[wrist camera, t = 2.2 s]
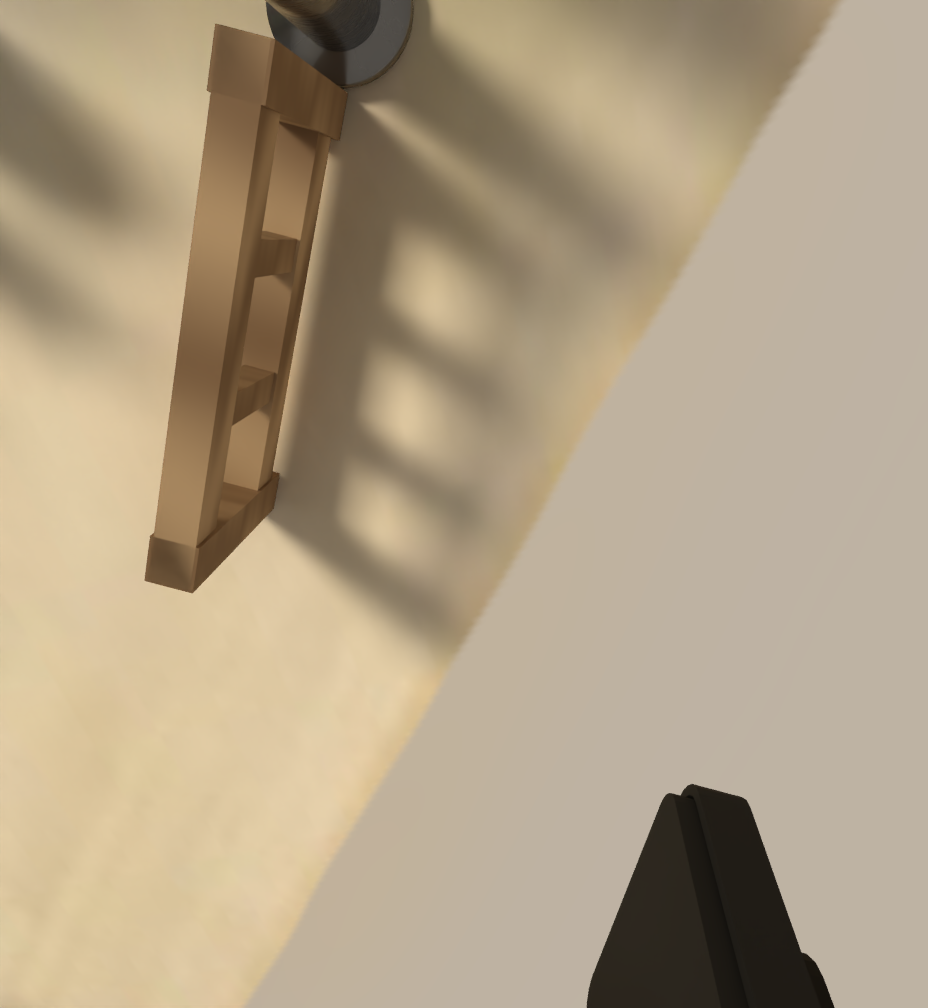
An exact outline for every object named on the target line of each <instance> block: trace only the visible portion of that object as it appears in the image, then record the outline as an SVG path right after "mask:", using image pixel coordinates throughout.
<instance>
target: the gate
mask: <svg viewBox="0 0 928 1008" xmlns="http://www.w3.org/2000/svg"><path fill="white" fill-rule="evenodd" d="M207 91H209V92H211V95H210V103H209V111H208V119H207V126H206V134H205V142H204V150H203V158H202V165H201V173H200V181H199V189H198V196H197V204H196V212H195V220H194V228H193V235H192V243H191V251H190V259H189V266H188V274H187V282H186V290H185V298H184V305H183V313H182V321H181V329H180V336H179V344H178V352H177V360H176V368H175V375H174V383H173V391H172V399H171V406H170V414H169V422H168V430H167V438H166V445H165V453H164V461H163V469H162V476H161V484H160V492H159V500H158V508H157V515H156V523H155V531H154V533H153V534H152V535H151V536H150V542H149V550H148V557H147V565H146V573H145V581H147V582H151V583H155V584H159V585H163V586H167V587H170V588H174V589H178V590H182V591H186V592H189V593H193V592H194V591H195V590H196V589H197V588H198V587H199V586H200V585H201V584H202V583H203V582H204V581H205V580H206V579H207V578H208V577H209V576H210V575H211V574H212V572H213V571H214V570H215V569H216V568H217V567H218V566H219V565H220V564H221V563H222V562H223V561H224V560H225V559H226V558H227V557H228V556H229V555H230V554H231V553H232V552H233V551H234V549H235V548H236V547H237V546H238V545H239V544H240V543H241V542H242V541H243V540H244V539H245V538H246V537H247V536H248V535H249V534H250V533H251V532H252V531H253V530H254V529H255V528H256V526H257V525H258V524H259V523H260V522H261V521H262V520H263V519H264V518H265V517H266V516H267V515H268V514H269V513H270V512H271V511H272V510H273V509H274V503H275V498H276V492H277V486H278V481H279V475H280V473H276V472H272V471H273V465H274V460H275V454H276V448H277V443H278V437H279V431H280V426H281V420H282V414H283V408H284V403H285V397H286V391H287V386H288V380H289V374H290V369H291V363H292V357H293V351H294V346H295V340H296V334H297V329H298V323H299V317H300V312H301V306H302V300H303V295H304V289H305V283H306V277H307V272H308V266H309V260H310V255H311V249H312V243H313V238H314V232H315V226H316V220H317V215H318V209H319V203H320V198H321V192H322V186H323V181H324V175H325V169H326V164H327V158H328V152H329V146H330V141H331V139H335V140H338V141H339V140H340V134H341V129H342V123H343V117H344V112H345V106H346V101H347V95H348V93H347V92H345V91H344V90H343V89H341V88H340V87H339V86H337V85H336V84H335V83H333V82H332V81H331V80H329V79H328V78H327V77H325V76H324V75H323V74H321V73H320V72H319V71H317V70H316V69H315V68H313V67H312V66H311V65H309V64H308V63H307V62H305V61H304V60H303V59H301V58H300V57H299V56H297V55H296V54H294V53H293V52H292V51H290V50H289V49H288V48H286V47H285V46H284V45H282V44H281V43H280V42H278V41H277V40H276V39H273V38H269V37H265V36H261V35H257V34H253V33H250V32H246V31H242V30H238V29H234V28H230V27H227V26H223V25H219V24H215V30H214V38H213V46H212V53H211V61H210V69H209V77H208V85H207Z"/></svg>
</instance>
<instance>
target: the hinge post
mask: <svg viewBox="0 0 928 1008" xmlns="http://www.w3.org/2000/svg"><path fill="white" fill-rule="evenodd" d="M265 1H266V7H267V15H268V20H269V24H270V27H271V30H272V33H273V36H274V38H275V39H276V40H277V41H278V42H280V43H281V44H282V45H284V46H285V47H286V48H288V49H289V50H290V51H292V52H293V53H294V54H296V55H297V56H299V57H300V58H301V59H303V60H304V61H305V62H307V63H308V64H309V65H311V66H312V67H313V68H315V69H316V70H317V71H319V72H320V73H321V74H323V75H324V76H325V77H327V78H328V79H329V80H331V81H332V82H333V83H335V84H336V85H337V86H339V87H340V88H349V87H357V86H361V85H364V84H367V83H370V82H372V81H373V80H375V79H377V78H379V77H380V76H381V75H383V74H384V73H386V72H387V71H388V70H389V69H390V68H391V67H392V66H393V65H394V63H395V62H396V61H397V59H398V58H399V57H400V55H401V53H402V51H403V50H404V48H405V45H406V43H407V41H408V38H409V35H410V31H411V27H412V21H413V0H265Z"/></svg>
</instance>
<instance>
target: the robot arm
mask: <svg viewBox="0 0 928 1008" xmlns="http://www.w3.org/2000/svg"><path fill="white" fill-rule="evenodd" d="M587 1008H834V1005H833V1002H832V1000H831V997H830V994H829V992H828V989H827V986H826V984H825V981H824V978H823V976H822V974H821V972H820V970H819V968H818V966H817V965H816V963H815V962H814V961H813V960H812V959H811V958H810V957H809V956H808V955H807V954H805V953H801V950H800V947H799V944H798V942H797V939H796V936H795V933H794V930H793V927H792V924H791V922H790V919H789V916H788V913H787V911H786V907H785V905H784V902H783V899H782V896H781V893H780V891H779V888H778V885H777V882H776V880H775V876H774V873H773V871H772V868H771V865H770V862H769V859H768V856H767V854H766V851H765V848H764V845H763V842H762V840H761V836H760V834H759V831H758V828H757V825H756V822H755V819H754V817H753V814H752V811H751V808H750V806H749V804H748V802H747V800H745V799H744V798H742V797H739V796H735V795H731V794H728V793H724V792H720V791H717V790H712V789H709V788H705V787H701V786H698V785H694V784H691V785H688V786H687V787H686V788H685V789H684V790H683V792H682V794H681V796H680V795H676V794H672V793H669V794H667V795H666V796H665V797H664V799H663V800H662V802H661V805H660V807H659V810H658V812H657V815H656V817H655V820H654V822H653V825H652V827H651V830H650V832H649V835H648V838H647V840H646V843H645V845H644V847H643V850H642V853H641V855H640V857H639V860H638V863H637V865H636V868H635V870H634V873H633V875H632V878H631V880H630V883H629V885H628V888H627V891H626V893H625V895H624V898H623V901H622V903H621V906H620V908H619V911H618V913H617V915H616V918H615V921H614V923H613V926H612V928H611V931H610V934H609V936H608V938H607V941H606V943H605V946H604V948H603V951H602V953H601V956H600V958H599V961H598V963H597V966H596V969H595V971H594V973H593V976H592V980H591V983H590V987H589V992H588V999H587Z"/></svg>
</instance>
